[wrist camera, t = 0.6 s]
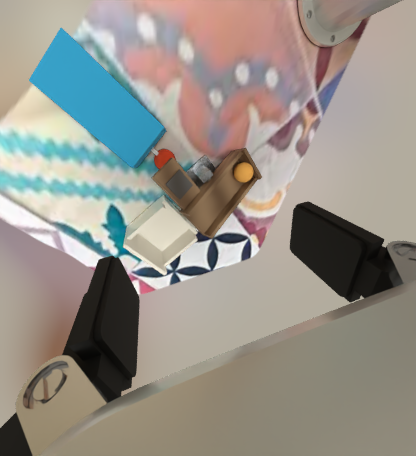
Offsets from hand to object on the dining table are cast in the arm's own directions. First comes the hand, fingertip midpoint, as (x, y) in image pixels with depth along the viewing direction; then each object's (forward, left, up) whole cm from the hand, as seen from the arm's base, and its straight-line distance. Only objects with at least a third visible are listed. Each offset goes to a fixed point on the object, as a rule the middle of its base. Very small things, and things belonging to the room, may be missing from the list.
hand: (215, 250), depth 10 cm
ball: (-9, +8, -21) cm, 24 cm away
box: (+9, +8, -26) cm, 29 cm away
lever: (+1, -8, -27) cm, 28 cm away
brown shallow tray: (-3, +5, -23) cm, 24 cm away
